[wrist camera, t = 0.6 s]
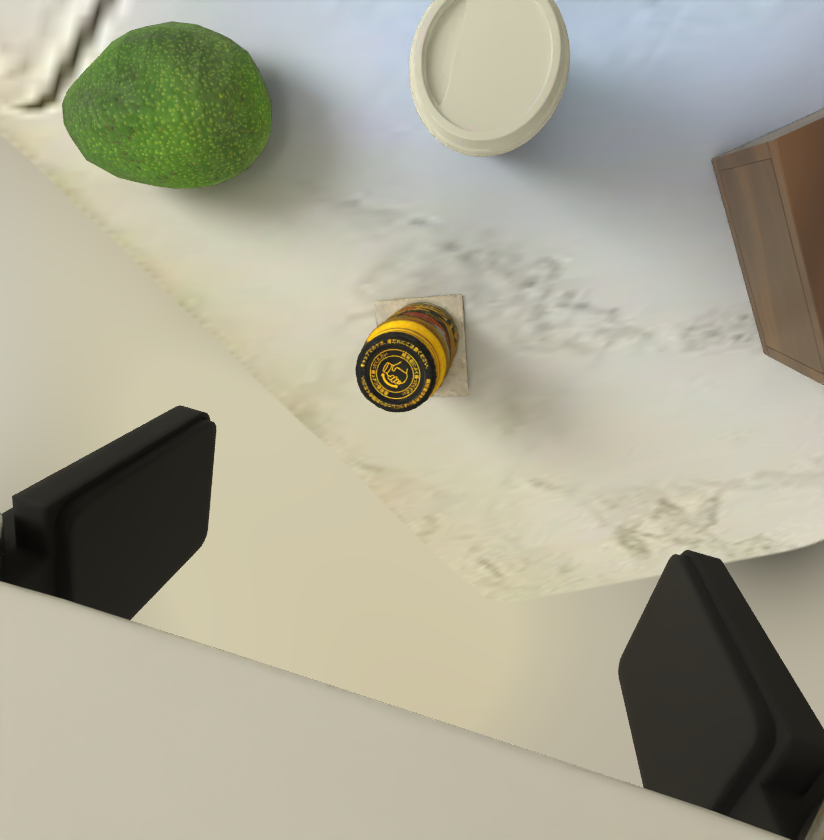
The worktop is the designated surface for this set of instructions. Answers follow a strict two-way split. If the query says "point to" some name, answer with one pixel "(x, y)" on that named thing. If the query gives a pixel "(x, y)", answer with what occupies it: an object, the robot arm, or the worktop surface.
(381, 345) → the condiment
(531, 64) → the coffee cup
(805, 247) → the cabinet
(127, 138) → the fruit
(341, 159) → the worktop surface
